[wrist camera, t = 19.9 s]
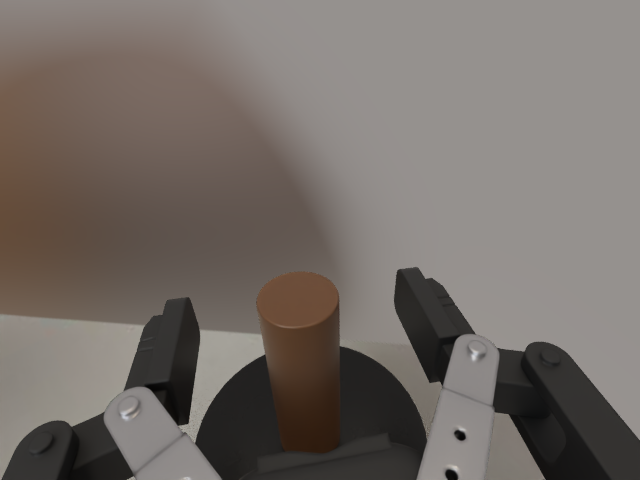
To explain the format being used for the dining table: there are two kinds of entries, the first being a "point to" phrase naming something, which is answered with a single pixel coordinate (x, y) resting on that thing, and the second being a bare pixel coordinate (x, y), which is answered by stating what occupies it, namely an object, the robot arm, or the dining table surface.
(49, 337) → the dining table surface
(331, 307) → the lid
